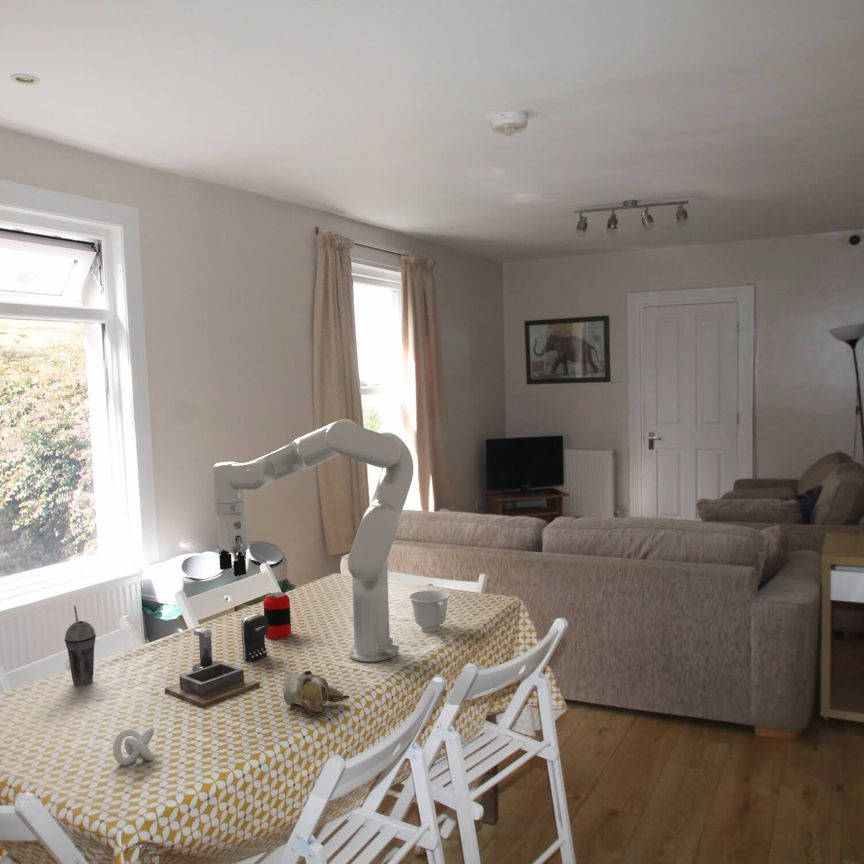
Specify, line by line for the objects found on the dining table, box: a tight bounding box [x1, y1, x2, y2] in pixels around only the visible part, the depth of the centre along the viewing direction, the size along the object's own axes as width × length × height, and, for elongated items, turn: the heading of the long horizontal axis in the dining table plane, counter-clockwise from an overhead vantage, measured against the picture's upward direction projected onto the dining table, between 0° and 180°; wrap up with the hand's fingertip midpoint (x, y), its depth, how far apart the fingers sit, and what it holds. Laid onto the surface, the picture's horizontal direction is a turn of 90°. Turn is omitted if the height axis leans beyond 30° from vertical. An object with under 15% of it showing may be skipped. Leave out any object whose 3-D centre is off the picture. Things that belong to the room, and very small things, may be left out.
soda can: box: [262, 591, 292, 640], centre depth 232 cm, size 8×8×12 cm
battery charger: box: [240, 613, 268, 662], centre depth 213 cm, size 7×4×11 cm, turn 146°
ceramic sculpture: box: [282, 670, 350, 715], centre depth 179 cm, size 11×9×15 cm
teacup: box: [408, 590, 451, 633], centre depth 232 cm, size 12×15×10 cm
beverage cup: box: [64, 605, 97, 687], centre depth 199 cm, size 7×7×20 cm
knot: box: [112, 726, 155, 766], centre depth 157 cm, size 8×8×6 cm
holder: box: [164, 661, 261, 708], centre depth 192 cm, size 16×16×4 cm
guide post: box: [192, 627, 221, 672], centre depth 206 cm, size 7×7×10 cm
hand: (233, 571), depth 212 cm, fingers open, 9 cm apart
